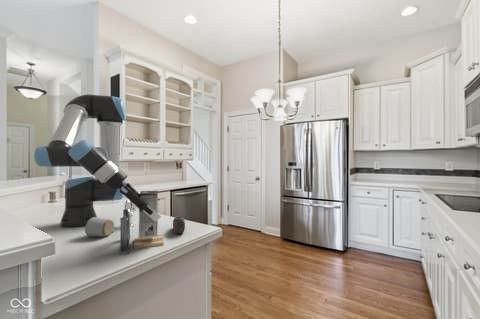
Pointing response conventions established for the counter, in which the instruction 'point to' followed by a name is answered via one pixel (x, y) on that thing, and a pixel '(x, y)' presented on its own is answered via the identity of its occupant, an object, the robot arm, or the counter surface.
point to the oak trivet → (148, 242)
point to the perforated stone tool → (178, 224)
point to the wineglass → (131, 210)
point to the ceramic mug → (99, 227)
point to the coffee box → (145, 222)
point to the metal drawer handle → (125, 232)
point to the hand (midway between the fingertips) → (157, 216)
